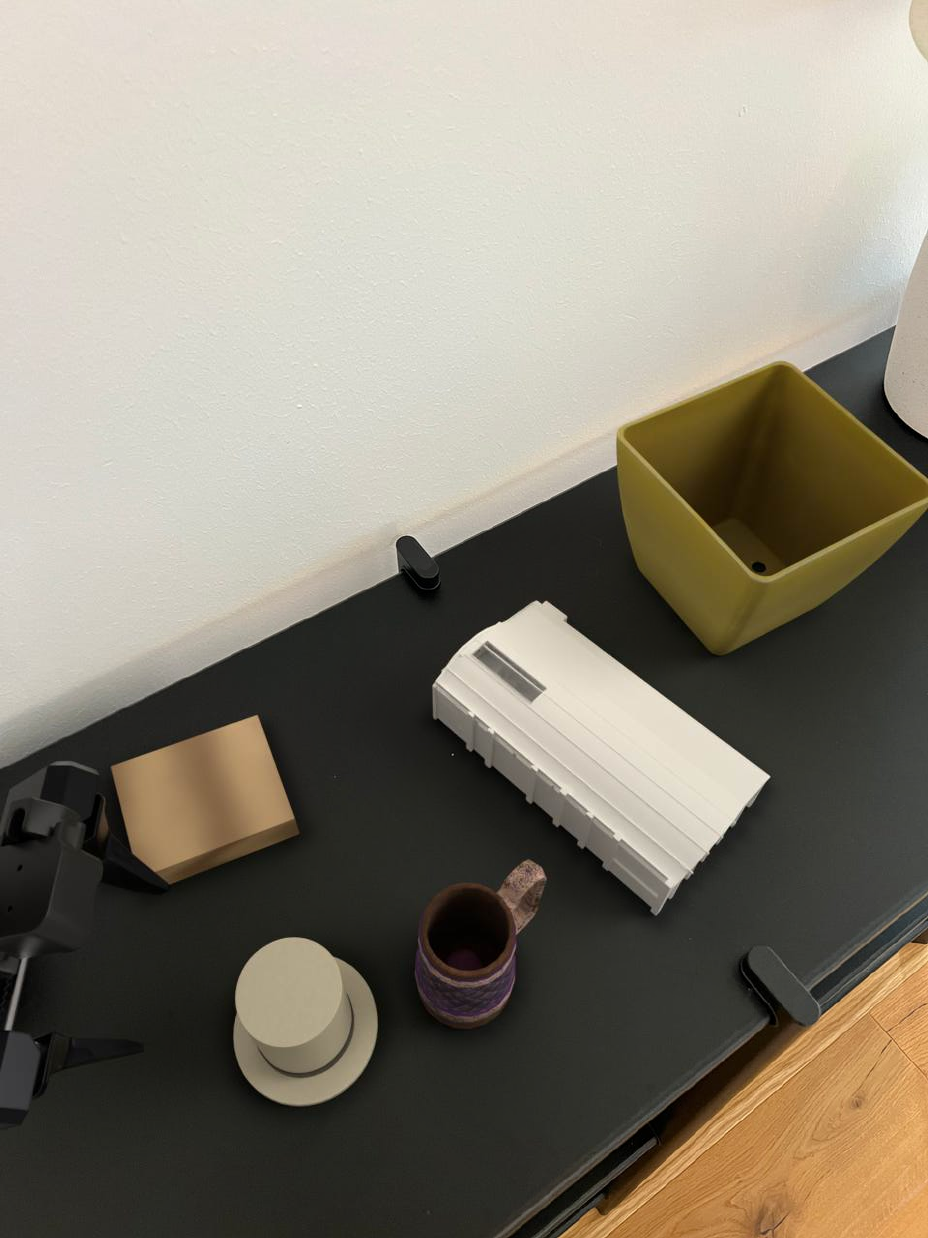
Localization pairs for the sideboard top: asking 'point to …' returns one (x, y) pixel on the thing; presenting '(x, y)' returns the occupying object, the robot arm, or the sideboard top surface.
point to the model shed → (596, 748)
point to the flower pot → (759, 502)
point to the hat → (302, 1023)
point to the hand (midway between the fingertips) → (154, 966)
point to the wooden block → (204, 801)
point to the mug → (474, 946)
